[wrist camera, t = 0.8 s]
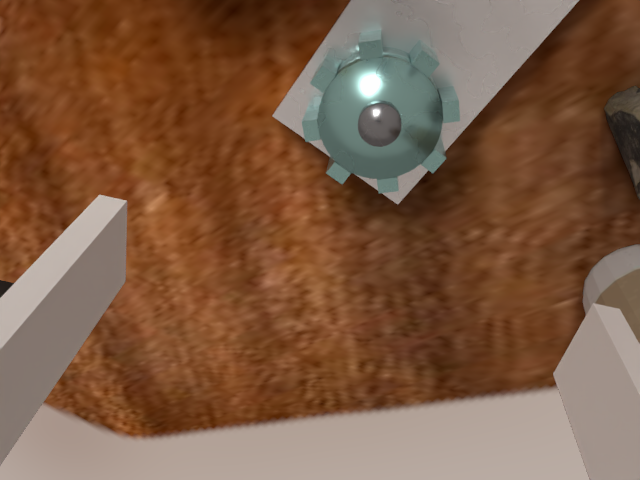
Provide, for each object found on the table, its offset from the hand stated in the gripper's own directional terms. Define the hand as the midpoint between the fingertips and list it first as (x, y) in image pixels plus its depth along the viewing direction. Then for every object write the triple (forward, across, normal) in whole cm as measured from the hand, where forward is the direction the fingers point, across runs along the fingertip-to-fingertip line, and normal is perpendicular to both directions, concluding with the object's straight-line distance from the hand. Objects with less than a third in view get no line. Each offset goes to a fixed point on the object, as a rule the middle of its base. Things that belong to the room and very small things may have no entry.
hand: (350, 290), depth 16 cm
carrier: (+23, +3, +3) cm, 23 cm away
